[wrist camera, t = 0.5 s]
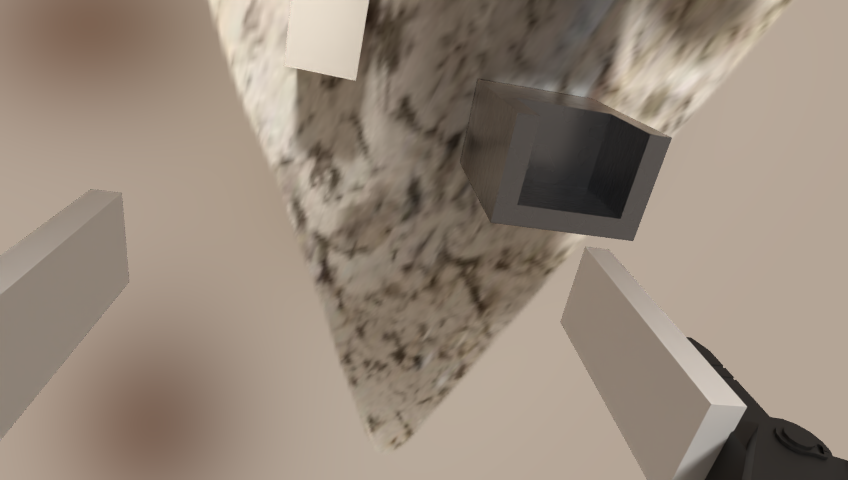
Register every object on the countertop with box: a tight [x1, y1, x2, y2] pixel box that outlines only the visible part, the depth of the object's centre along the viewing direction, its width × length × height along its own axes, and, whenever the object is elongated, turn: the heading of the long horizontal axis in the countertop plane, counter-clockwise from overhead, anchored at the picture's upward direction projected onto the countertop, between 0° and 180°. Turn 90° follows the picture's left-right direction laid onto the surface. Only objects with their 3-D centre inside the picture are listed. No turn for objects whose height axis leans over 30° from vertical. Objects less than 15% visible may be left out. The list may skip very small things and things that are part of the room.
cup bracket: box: [460, 79, 672, 241], centre depth 33 cm, size 6×8×11 cm
